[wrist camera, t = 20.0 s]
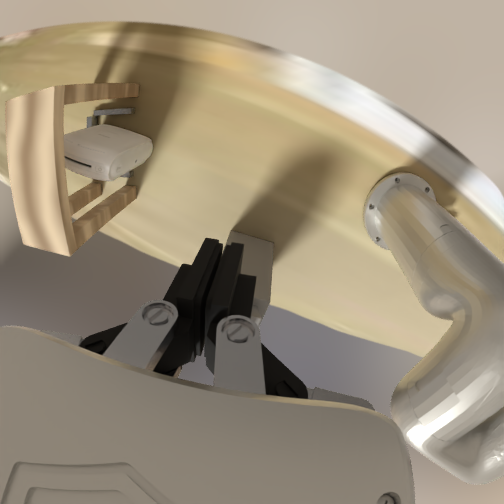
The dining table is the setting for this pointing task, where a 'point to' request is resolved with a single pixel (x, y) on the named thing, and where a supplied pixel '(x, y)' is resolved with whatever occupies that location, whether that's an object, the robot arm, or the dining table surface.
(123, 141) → the photo printer
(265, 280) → the beige rectangular block
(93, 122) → the seat guides
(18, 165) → the wooden display stand
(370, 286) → the dining table surface
